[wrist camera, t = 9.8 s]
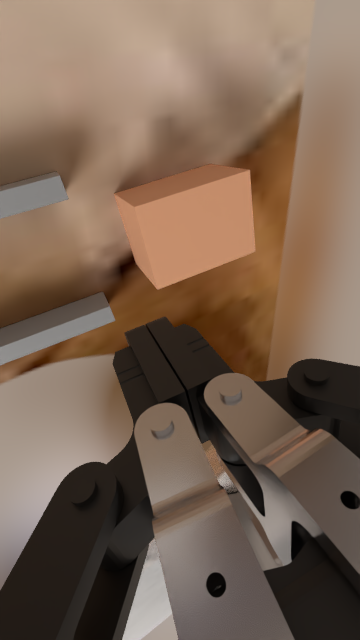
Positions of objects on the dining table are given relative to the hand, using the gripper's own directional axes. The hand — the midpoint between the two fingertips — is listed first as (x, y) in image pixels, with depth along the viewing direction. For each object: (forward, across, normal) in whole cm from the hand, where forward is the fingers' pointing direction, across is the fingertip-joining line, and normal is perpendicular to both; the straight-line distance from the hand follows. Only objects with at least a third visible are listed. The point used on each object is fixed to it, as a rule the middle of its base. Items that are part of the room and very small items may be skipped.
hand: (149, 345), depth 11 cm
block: (+13, -6, 0) cm, 14 cm away
